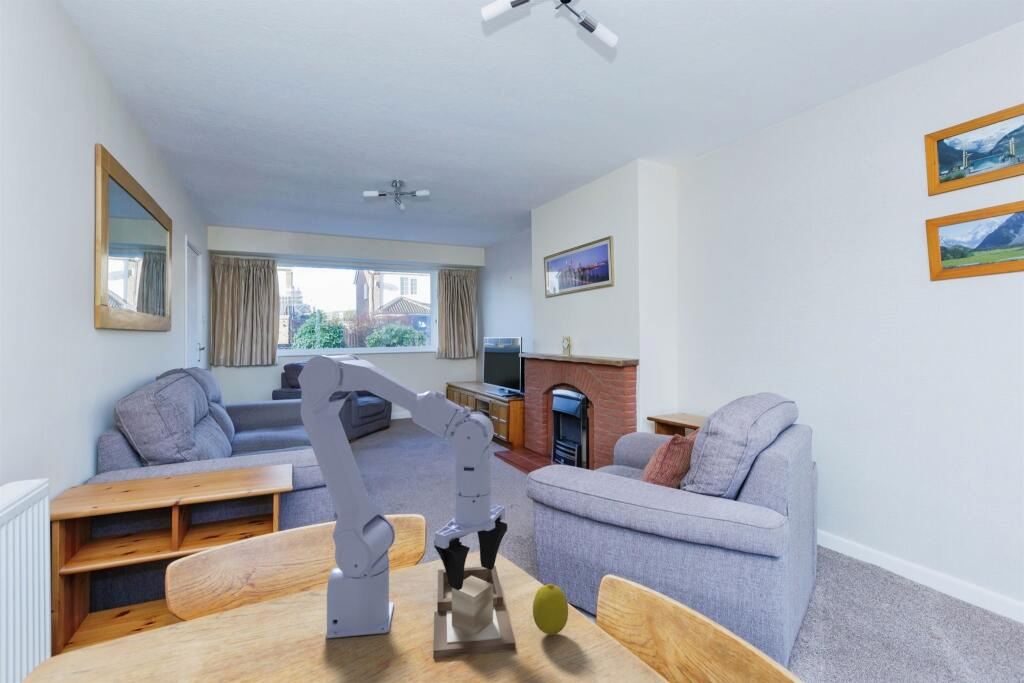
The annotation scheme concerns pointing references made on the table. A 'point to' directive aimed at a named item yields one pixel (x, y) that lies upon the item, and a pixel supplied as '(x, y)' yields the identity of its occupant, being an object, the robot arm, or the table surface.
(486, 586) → the block
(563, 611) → the lemon
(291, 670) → the table surface
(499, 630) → the brown divided tray
